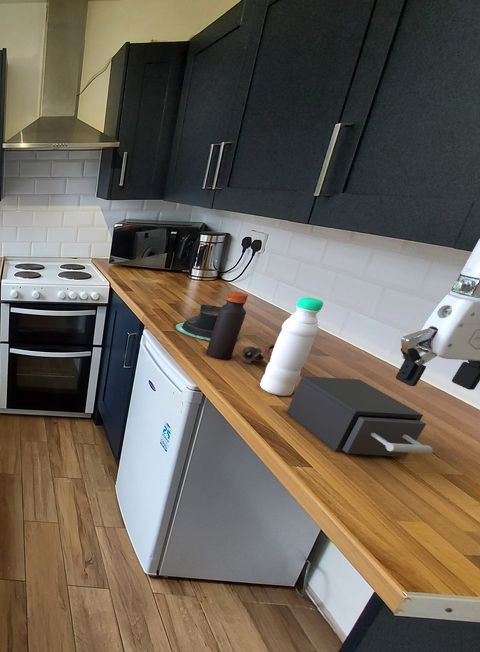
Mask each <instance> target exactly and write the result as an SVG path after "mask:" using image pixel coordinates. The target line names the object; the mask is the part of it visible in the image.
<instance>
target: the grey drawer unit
mask: <svg viewBox="0 0 480 652" xmlns="http://www.w3.org/2000/svg"><path fill="white" fill-rule="evenodd" d="M286 414H288V415H289V416H290V417H292V418H293V419H294V420H295V421H297V422H298V423H299V424H300V425H302V426H303V427H304V428H305V429H306V430H308V431H309V432H310V433H311V434H313V435H314V436H315V437H316V438H318V439H319V440H320V441H321V442H323V443H324V444H325V445H327V446H328V447H329V448H330V449H332V450H333V451H334V452H337V453H338V452H340V453H346V452H345V451H344V450H342V449H343V447H344V445H345V444H344V442H345V440H346V438H347V436H348V435H349V433H350V431H351V429H352V427H353V425H354V423H355V421H356V419H357V417H358V415H367V416H384V417H401V418H408V419H407V420H420V421H422V418H423V417H424V414H422V413H421V412H419V411H417V410H415V409H413V408H411V407H410V406H408V405H406V404H405V403H402V402H401V401H400V400H397V399H396V398H394V397H392V396H390V395H389V394H387V393H385V392H383V391H381V390H379V389H378V388H375V387H374V386H373V385H371V384H368V383H366V382H365V381H363V380H361V379H359V378H358V379H357V378H342V377H341V378H340V377H325V376H324V377H321V376H308V375H307V376H305V375H302V376H301V377H300V380H299V382H298V385H297V387H296V389H295V391H294V394H293V395H292V398H291V401H290V403H289V405H288V408H287V411H286Z"/></svg>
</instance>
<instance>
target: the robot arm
mask: <svg viewBox="0 0 480 652" xmlns="http://www.w3.org/2000/svg"><path fill="white" fill-rule="evenodd" d="M400 343H401V344H400V346H401V348H400V352H401V353H402V356H401V357H402V359H403V360H404V361H403V362H402V364H401V366H400V368H399V370H398V371H397V374H396V375H395V379H396V380H397V381H399V382H401V383H404V384H405V385H407V386H409V387H416V386H417V385H418V383H419V382H420V380H421V377H423V374H424V373H425V370H426V369H427V365H425V364H426V363H428V362H430V361H432V360H433V359H434V358H436V357H439V358H442V359H445V360H458V361H459V360H460V361H462V363H461V364H460V366H459V368H458V369H457V371H456V372H455V374H454V375H453V377H452V379H451V382H452V383H453V384H454V385H457V386H460V387H462V388H464V389H466V390H469V391H473V390H475V389H476V387H477V386H478V384H479V383H480V238H479V239H478V241H477V243H476V244H475V246H474V247H473V249H472V252H471V253H470V255H469V257H468V259H467V261H466V263H465V265H464V267H463V268H462V270H461V272H460V273H459V275H458V277H457V279H456V280H455V281H454V282H453V283H452V284H451V290H450V291H449V293H447V294H445V296H444V297H443V298H442V300H441V301H440V302H439V303H438V305H437V306H436V307H435V309H434V310H433V311H432V313H431V314H430V315H429V316H428V318H427V320H426V321H425V323H424V325H423V326H422V328H421V330H419V331H416V332H413V333H410V334H407V335H404V336H402V337H401V339H400ZM421 353H424V354H422V355H420V354H421Z"/></svg>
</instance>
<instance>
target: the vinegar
mask: <svg viewBox="0 0 480 652" xmlns="http://www.w3.org/2000/svg"><path fill="white" fill-rule="evenodd" d="M248 297H249V295H248V294H247V293H245V292H241V291H228V293H227V296H226V303H225V304H223V305H222V306H220V307H221V308H220V310H219V313H218V316H217V319H216V322H215V326H214V329H213V332H212V335H211V339H210V340H209V343H208V345H207V349H206V354H207V355H208V356H209V357H211V358H215V359H217V360H226V361H227V360H229V359H231V358H232V355H233V354H234V351H235V347H236V344H237V342H238V339H239V338H238V336H240V332H241V330H242V326H243V323H244V321H245V318H246V315H247V311H246V309H245V308H244V305H246V303H247V299H248ZM237 338H238V339H237Z"/></svg>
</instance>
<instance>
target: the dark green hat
mask: <svg viewBox="0 0 480 652" xmlns="http://www.w3.org/2000/svg"><path fill="white" fill-rule="evenodd" d="M221 307H222V306H217V305H212V304H204V303H201V304H199V314H198V315H195V316H193V317H190V318H188V319H187V320H185V321H184V322H180V323H177V324H176V325H175V329H176V330H177V331H178V332H179V333H183V334H184V335H187V336H189V337H191V338H192V337H193V338H195V339H198V340H199V339H200V340H205V341H210V339H211V335H212V332H213V329H214V326H215V322H216V319H217V316H218V313H219V310H220V308H221ZM239 338H240V335H238V338H237V340H238V339H239Z"/></svg>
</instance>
